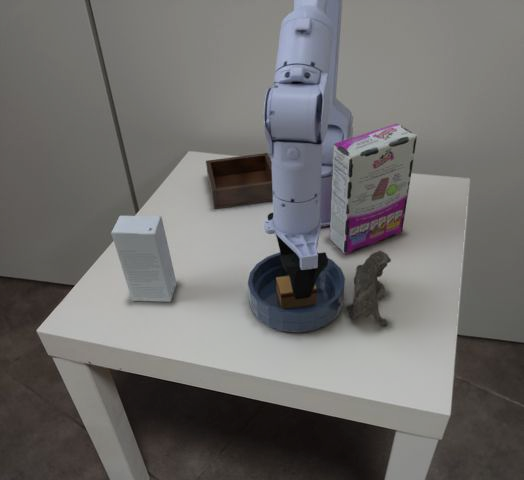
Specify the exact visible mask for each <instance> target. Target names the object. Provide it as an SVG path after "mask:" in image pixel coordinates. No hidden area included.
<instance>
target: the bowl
mask: <svg viewBox="0 0 524 480" xmlns="http://www.w3.org/2000/svg"><path fill="white" fill-rule="evenodd" d="M280 256H281V253H280V251H279V252H277V253H274V254H271V255H267V256H266V257H265V258H263V259H261V260H260V261H259V262H257V263H256V264H255V265H254V267H253V268H252V269H251V271H250V272H249V277H248V280H247V291H248V301H249V305H250V309H251V311H252V313H253V314H254V316H255V317H256V318H257V319H258V320H259V321H260V322H262V323H263V324H265V325H266V326H268V327H270V328H273V329H274V330H278V331H281V332H289V333H290V332H291V333H303V332H310V331H315V330H317V329H320V328H322V327H324V326H327V325H328V324H330V323H331V322H332V321H334V319H336V318H337V317H338V315H339V314H340V312H341V311H342V309H343V307H344V297H345V285H346V284H345V283H346V277H345V275H344V272H343V270H342V268H341V267H340V266H339V265H338V264H337V263H336V262H335V261H334V260H333V259H331V258H329V257H328V264H327V266H326V267H325V268H324V269H323V271H322V272H321V273H320V275H319V276H318V278H317V280H316V283H315V285H316V287H317V297H316V304H314V305H308V306H301V307H295V308H288V309H281V306H280V303H279V300H278V296H277V287H276V277H282V276H289V275H288V274H287V272H286V271H285V269H284V267H283V265H282V261H281V258H280Z"/></svg>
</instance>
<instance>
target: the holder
mask: <svg viewBox="0 0 524 480" xmlns="http://www.w3.org/2000/svg"><path fill="white" fill-rule="evenodd" d="M205 166H206V173H207V174H206V175H207V180H208V184H209V189H210V195H211V200H212V205H213V209H214V210H217V209H225V208H232V207H238V206H247V205H254V204H261V203H268V202H273V190H272V162H271V157H270V156H268V152H264V153H263V152H262V153H255V154H248V155H239V156H232V157H224V158H216V159H208V160H205Z"/></svg>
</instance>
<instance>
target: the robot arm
mask: <svg viewBox="0 0 524 480" xmlns="http://www.w3.org/2000/svg"><path fill="white" fill-rule="evenodd" d="M342 12H343V0H293V11H291V12H289V13H288V14H287V15H286V16H285V17H284V18H283V19H282V21H281V24H280V31H279V37H278V45H277V52H276V61H275V68H274V77H273V83H272V84H273V85H272V87H268V88H267V89H266V91H265V96H264V100H263V112H262V116H263V117H262V120H263V129H264V137H265V140H266V144H267V145H266V146H267V153H268V156H270V159H271V162H272V190H273V201H272V212H270V213H268V214H267V217H266V218H267V220H265V221H264V222H263V227H264V231H265V233H266V234H267V235H272V234H274V235H275V236H276V239H277V244H278V248H279V252H280V253H281V256H280V258H281V261H282V265H283V267H284V269H285V271H286V272H287V274H288V275H289V277H290V281H291V286H292V291H293V294H294V297H295V299H302V298H309V297H310V296H311V294H312V291H313V288H314V286H315V283H316V280H317V278H318V276H319V275H320V273H321V272H322V271H323V269H324V268H325V267H326V266H327V264H328V258H329V257H328V255H327V253H326V251H325V252H318V244H319V238H320V233H321V227H329V226H330V221H331V195H332V168H333V144H334V143H337V142H341V141H344V140H347V139H350V138H353V137H354V136H353V135H354V126H353V122H354V116H353V115H352V113H353V112H352V111H351V110H350V109H349V108H348V107H347V106H346V105H345V104H343V103H342V102H341V101H340V100H339V99H338V98H337V86H338V72H339V71H338V70H339V60H340V59H339V58H340V43H341V30H342V29H341V27H342V14H343V13H342Z"/></svg>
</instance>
